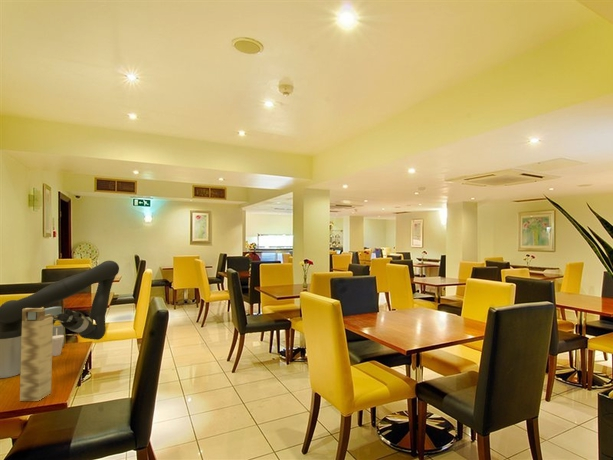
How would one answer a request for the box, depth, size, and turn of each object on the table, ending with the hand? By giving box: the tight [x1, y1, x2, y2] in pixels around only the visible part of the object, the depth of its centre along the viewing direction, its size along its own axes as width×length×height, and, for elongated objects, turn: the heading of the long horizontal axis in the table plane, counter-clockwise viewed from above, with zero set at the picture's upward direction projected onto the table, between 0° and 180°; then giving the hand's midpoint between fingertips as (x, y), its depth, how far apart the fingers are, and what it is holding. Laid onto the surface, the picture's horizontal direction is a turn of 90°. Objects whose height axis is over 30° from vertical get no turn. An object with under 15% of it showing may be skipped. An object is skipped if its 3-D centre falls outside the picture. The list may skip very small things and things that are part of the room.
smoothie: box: [52, 328, 65, 357], centre depth 180 cm, size 6×6×14 cm
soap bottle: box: [52, 315, 65, 349], centre depth 191 cm, size 7×7×18 cm
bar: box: [27, 306, 63, 320], centre depth 136 cm, size 3×14×3 cm, turn 2°
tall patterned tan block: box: [19, 307, 54, 402], centre depth 132 cm, size 7×6×35 cm
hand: (54, 310), depth 142 cm, fingers open, 8 cm apart
